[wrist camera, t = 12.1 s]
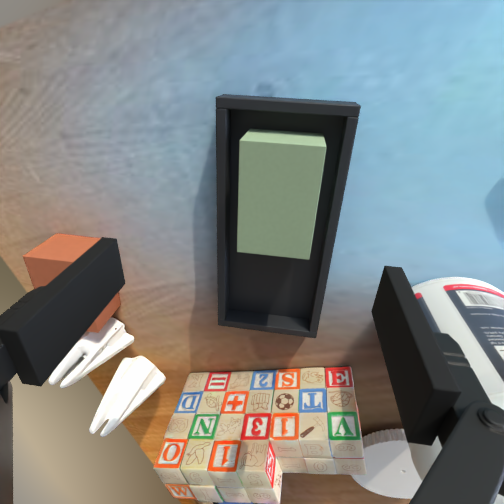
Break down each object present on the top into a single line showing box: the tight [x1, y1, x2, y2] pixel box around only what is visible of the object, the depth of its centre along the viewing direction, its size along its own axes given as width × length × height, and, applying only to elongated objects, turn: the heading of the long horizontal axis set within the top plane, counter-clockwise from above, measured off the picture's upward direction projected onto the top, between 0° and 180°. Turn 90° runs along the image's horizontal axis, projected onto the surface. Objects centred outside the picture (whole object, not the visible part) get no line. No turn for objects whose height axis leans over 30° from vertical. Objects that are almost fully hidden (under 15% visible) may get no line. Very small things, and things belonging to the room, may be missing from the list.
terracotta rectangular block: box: [23, 234, 121, 333], centre depth 35 cm, size 9×6×5 cm, turn 177°
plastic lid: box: [351, 429, 422, 499], centre depth 45 cm, size 14×14×2 cm
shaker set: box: [49, 317, 166, 437], centre depth 38 cm, size 12×4×11 cm, turn 35°
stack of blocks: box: [153, 367, 367, 504], centre depth 38 cm, size 21×6×12 cm, turn 104°
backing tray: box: [216, 94, 361, 338], centre depth 30 cm, size 23×11×3 cm, turn 177°
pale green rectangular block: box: [237, 129, 327, 260], centre depth 27 cm, size 9×6×5 cm, turn 177°
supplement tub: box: [379, 277, 504, 504], centre depth 26 cm, size 13×13×18 cm
